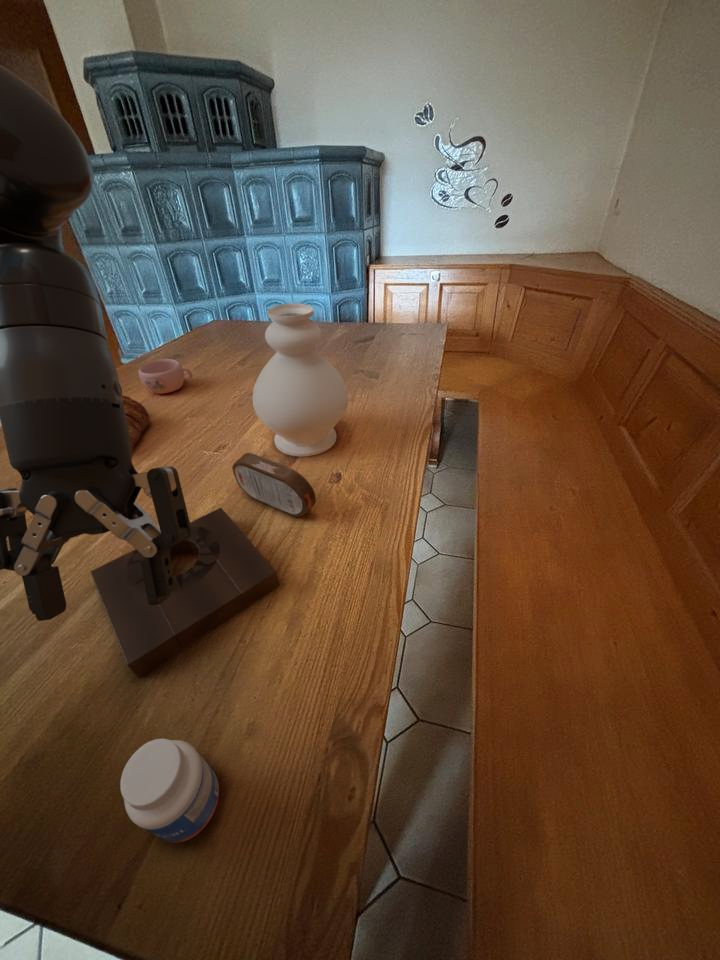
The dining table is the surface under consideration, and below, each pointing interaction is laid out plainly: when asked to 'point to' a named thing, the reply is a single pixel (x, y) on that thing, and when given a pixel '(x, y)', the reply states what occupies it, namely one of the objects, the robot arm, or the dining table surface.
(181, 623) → the base pad
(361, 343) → the dining table surface
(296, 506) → the tin
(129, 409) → the pastry
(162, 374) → the mug
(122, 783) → the pill bottle
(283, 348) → the decorative vase
